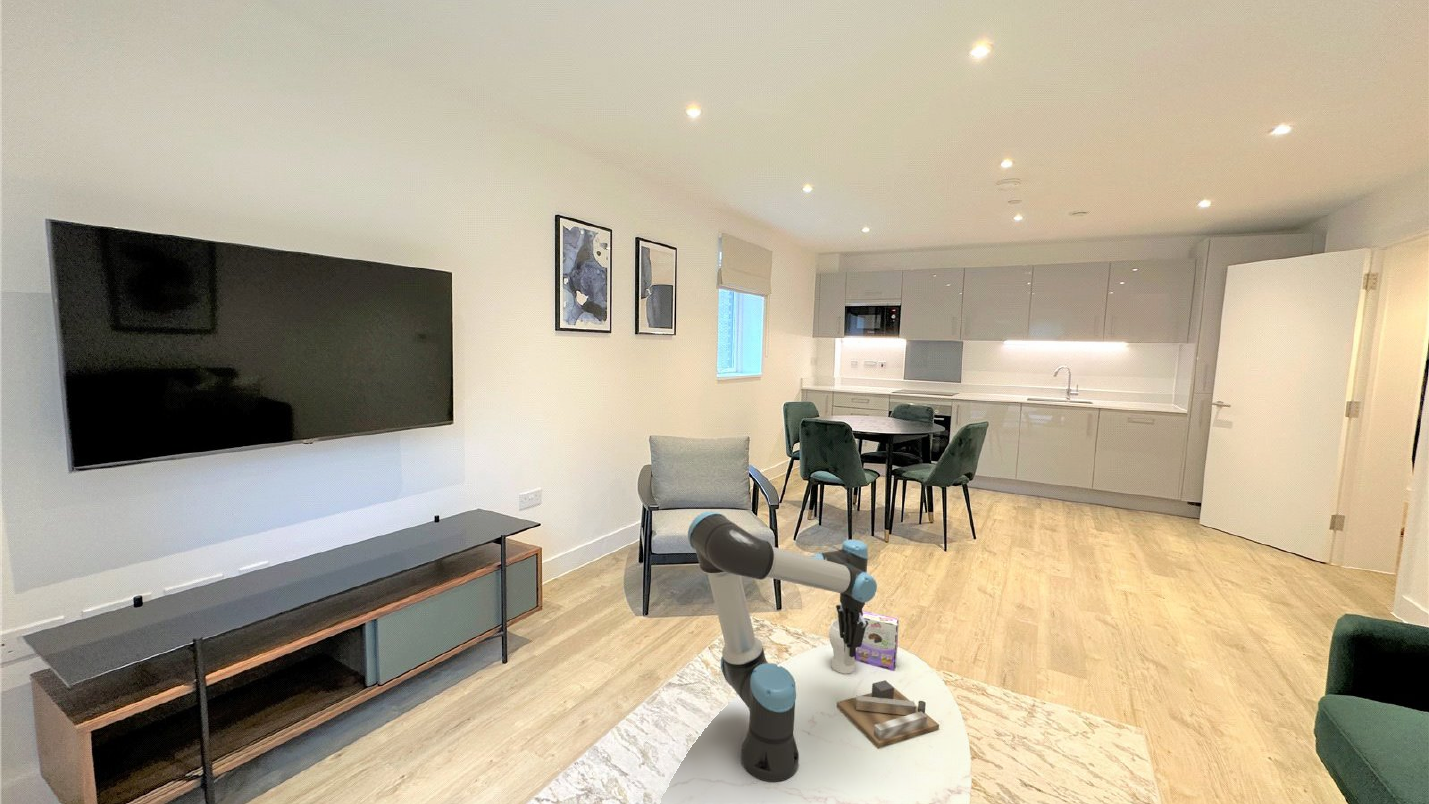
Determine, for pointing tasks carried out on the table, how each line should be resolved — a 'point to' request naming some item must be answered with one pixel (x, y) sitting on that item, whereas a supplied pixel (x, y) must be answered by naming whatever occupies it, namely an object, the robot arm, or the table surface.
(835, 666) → the cup
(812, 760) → the table surface
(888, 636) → the candy box
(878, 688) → the dark grey block
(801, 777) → the table surface
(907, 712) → the bar
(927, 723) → the board
